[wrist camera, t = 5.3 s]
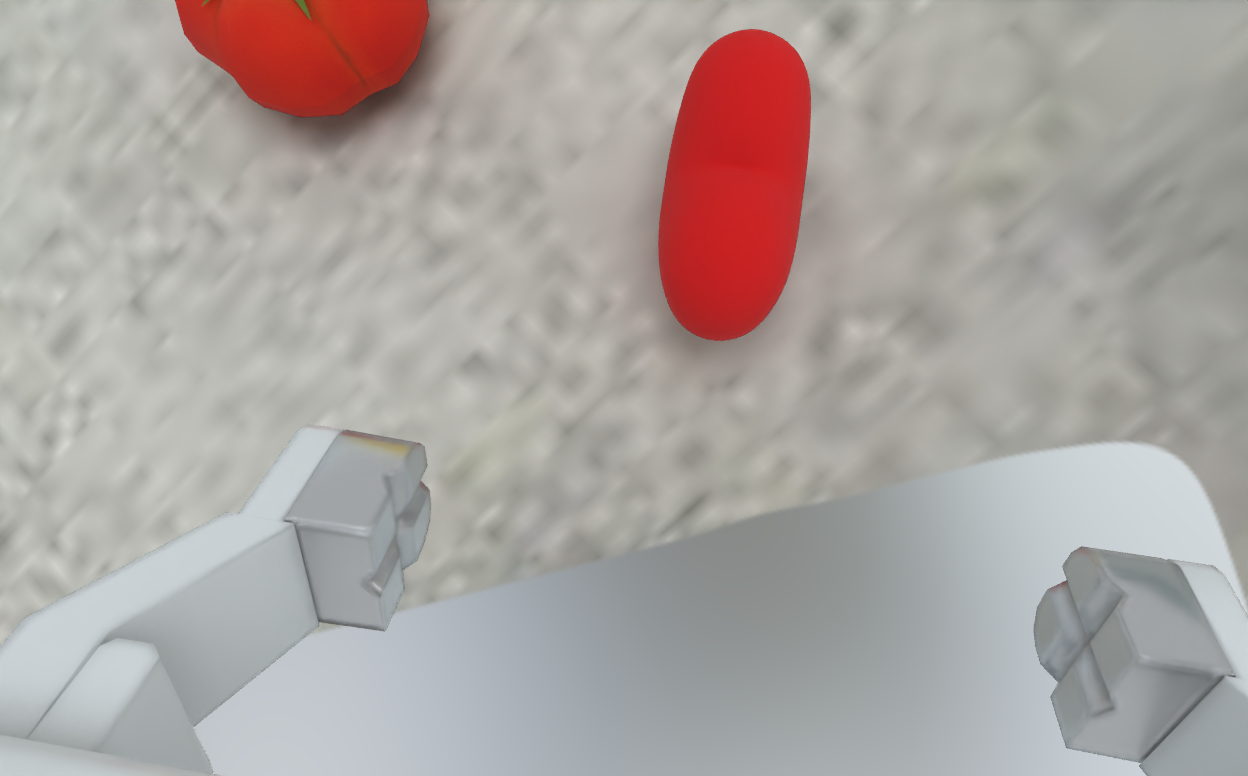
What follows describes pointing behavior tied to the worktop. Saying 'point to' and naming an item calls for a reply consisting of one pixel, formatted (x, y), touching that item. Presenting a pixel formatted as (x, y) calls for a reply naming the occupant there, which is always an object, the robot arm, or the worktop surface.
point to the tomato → (308, 48)
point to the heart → (735, 184)
